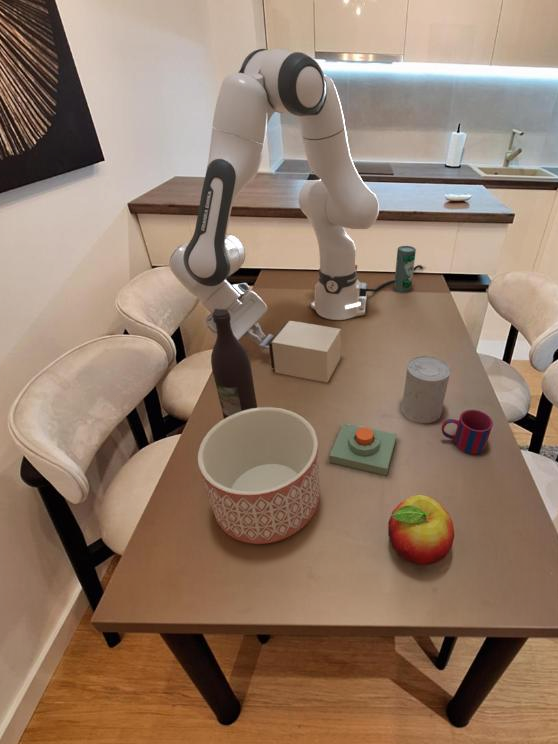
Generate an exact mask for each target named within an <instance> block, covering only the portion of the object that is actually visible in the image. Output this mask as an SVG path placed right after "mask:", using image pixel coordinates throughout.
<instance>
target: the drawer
mask: <svg viewBox="0 0 558 744" xmlns="http://www.w3.org/2000/svg"><path fill="white" fill-rule="evenodd" d="M286 324H287V323H284V324H283V325H282V326H281V328H280V329H279V330H278V332H276V334H275V335H273V333H269V334H268V335H267V336H266V338H265V339H264V340H263V341H262V342H261V343H260V344H258V349H259V350H260V351H263V350H269V356H270V366H271V369H275V366H274V357H273V348H272V341H273V340H274V339H275V338H276V336H277V335H278V334H279V333H280V332H281V330H282V329H283V328H284V327H285V326H286Z"/></svg>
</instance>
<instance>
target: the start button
mask: <svg viewBox="0 0 558 744" xmlns="http://www.w3.org/2000/svg"><path fill="white" fill-rule="evenodd" d="M362 427H363V428H359V429H358V430H357V431H356V442H357V443H358V444H359V445H362V446H367V445H370V444H371V443H372V442H373V431H372V430H371V429H369V428H370V427H367V428H366V426H362Z"/></svg>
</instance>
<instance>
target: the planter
mask: <svg viewBox="0 0 558 744" xmlns="http://www.w3.org/2000/svg"><path fill="white" fill-rule="evenodd" d="M318 440H319V439H318V437H317V433H316V431H315V429H314V427H313V426H312V424H311V423H310V422H309V421H308V420H307V419H306V418H305V417H303V416H301V415H300V414H298V413H296V412H294V411H292V410H288V409H285V408H280V407H270V406H263V407H262V406H261V407H257V408H253V409H248V410H244V411H241V412H238V413H235V414H233V415H231V416H229V417H227V418H225V419H224V418H223V419H222V420H220V421H219V422H218V423H216V424H215V425H214V426H213V427H212V428H211V429H210V430H209V431H208V432H207V433H206V434H205V436H204V437H203V439H202V441H201V443H200V445H199V448H198V452H197V464H198V469H199V472H200V474H201V479H202V481H203V485H204V488H205V491H206V494H207V498H208V500H209V503H210V507H211V509H212V512H213V515H214V519H215V521H216V523H217V524H218V526H219V528H220V529H221V530H222V531H223V532H224V533H226V534H227V535H228V536H230V537H231V538H233V539H235V540H237V541H240V542H243V543H247V544H255V545H263V544H264V545H265V544H271V543H275V542H280V541H282V540H284V539H287V538H289V537H291V536H293V535H294V534H296V533H298V532H299V531H300V530H301V529H303V528H304V527H305V526H306V525H307V524H308V523H309V521H310V520H311V519H312V518H313V517H314V514H315V512H316V511H317V508H318V505H319V502H320V497H321V488H320V465H319V464H320V463H319V441H318Z"/></svg>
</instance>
